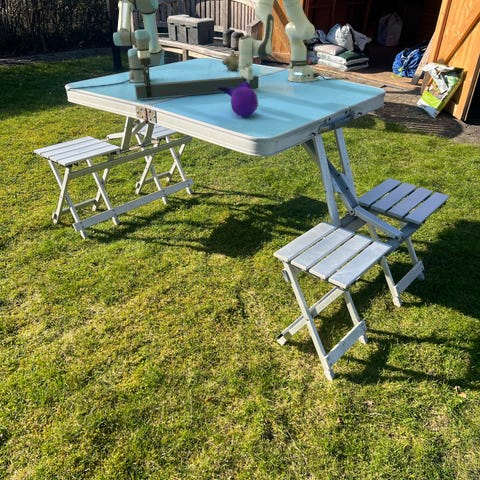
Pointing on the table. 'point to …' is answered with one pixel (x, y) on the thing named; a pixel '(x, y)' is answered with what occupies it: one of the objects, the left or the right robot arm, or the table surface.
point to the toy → (242, 99)
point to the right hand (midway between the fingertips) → (246, 84)
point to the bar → (192, 87)
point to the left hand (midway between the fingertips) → (148, 96)
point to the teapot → (231, 61)
